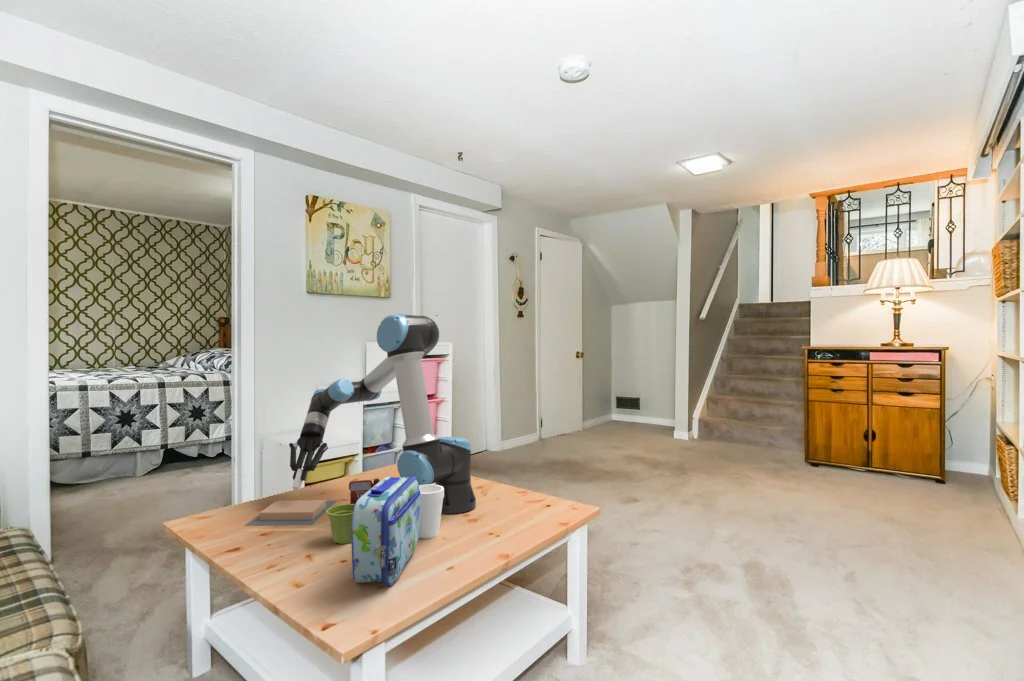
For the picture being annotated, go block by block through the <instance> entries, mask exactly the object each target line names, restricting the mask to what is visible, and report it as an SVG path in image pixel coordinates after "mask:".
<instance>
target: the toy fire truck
mask: <svg viewBox="0 0 1024 681" xmlns="http://www.w3.org/2000/svg"><path fill="white" fill-rule="evenodd" d="M380 481H381V480H380V479H379V478H374V480H371V479H364V480H363V479H362V480H351V481H350V482H349V483H348V490H349V494H350V495H349V496H350V499H349V502H350V503H349V504H356V502H357V500H358V499H359V498H360V497H361V496H363V495H364V494H365V493H366V492H367V491H369V490H370V489H371V488H372V487H373V486H375V485H376V484H377V483H378V482H380Z"/></svg>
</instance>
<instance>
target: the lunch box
mask: <svg viewBox="0 0 1024 681" xmlns="http://www.w3.org/2000/svg"><path fill="white" fill-rule="evenodd" d="M419 516H420V489H419V485H418V479H417V477H410V478H409V477H402V478H401V477H400V476H398V477H397V476H394V477H393V476H386V477H384V478H382V479H381V480H380V482H378V483H377V484H376V485H375V486H373V487H372V488H371V489H370V490H369V491H367V492H366V493H365V494H364V495H363V496H361V497H360V498H359V499H358V500H357V502H356V504H355V506H354V510H353V515H352V526H351V542H350V543H351V561H352V562H351V565H352V568H351V569H352V576H353V581H354V582H355V583H358V584H359V583H377V582H378V583H380V584H383V585H385V586H393V585H395V584H396V583H397V580H398V579H399V577H400V575H401V573H402V571H403V570H404V568H405V566H406V564H407V563H408V561H409V559H410V558H411V557H412V555H413V554H414V552H415V550H416V548H417V544H418V541H419V537H418V536H419Z"/></svg>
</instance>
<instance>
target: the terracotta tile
mask: <svg viewBox="0 0 1024 681" xmlns="http://www.w3.org/2000/svg"><path fill="white" fill-rule="evenodd" d="M326 501H327V500H326V499H324V500H323V499H317V500H315V499H314V500H311V499H310V500H309V499H308V500H304V499H303V500H300V499H299V500H297V499H296V500H294V499H293V500H276V501H274V502H273V503H271V504H270V505H269V506H267V507H266V508H264V509H263V510H262V511H260V512H259V515H260V521H263V520H313V519H314V518H315V517H316V516H317V515H319V514H320V513H321V512H322V511H323V510H324V509H325V508H326Z"/></svg>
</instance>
